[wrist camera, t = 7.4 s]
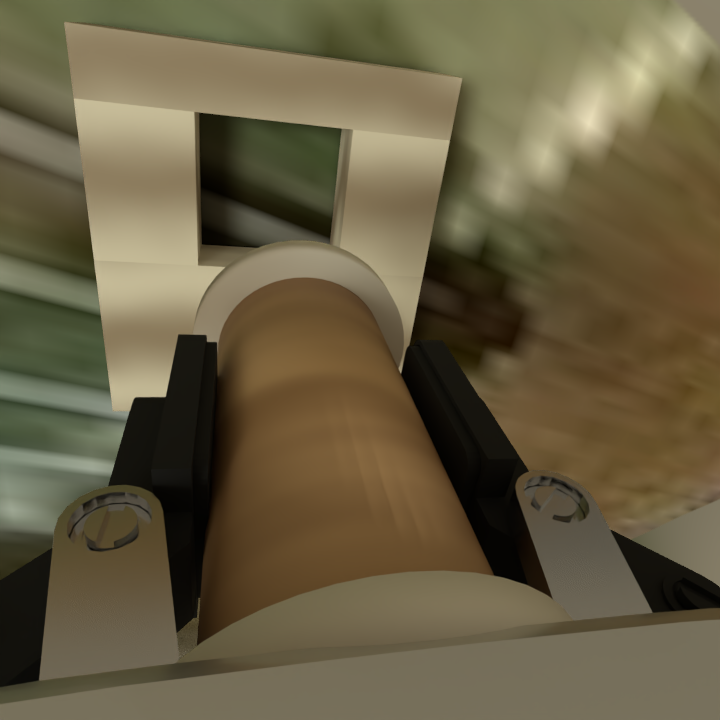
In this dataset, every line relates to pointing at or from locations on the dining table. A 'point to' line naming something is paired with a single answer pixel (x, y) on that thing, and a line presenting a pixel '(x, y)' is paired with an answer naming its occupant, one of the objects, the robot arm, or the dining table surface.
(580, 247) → the dining table surface
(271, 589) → the bobbin
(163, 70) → the socket board
